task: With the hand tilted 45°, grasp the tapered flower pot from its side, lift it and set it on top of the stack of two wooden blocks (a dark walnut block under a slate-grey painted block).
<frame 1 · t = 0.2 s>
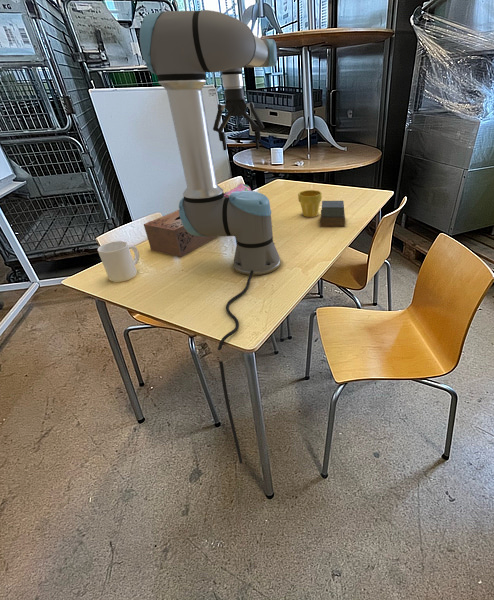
hand: (241, 149, 138), 28 cm above the table, tool pointing down, fingers open, 13 cm apart
base block: (332, 222, 143), on the table, touching top block
tissue box cover: (190, 241, 130), on the table
flower pot: (310, 215, 152), on the table
top block: (332, 213, 140), point 4 cm above the table, touching base block
pencil case: (236, 207, 164), on the table
mug: (128, 274, 108), on the table
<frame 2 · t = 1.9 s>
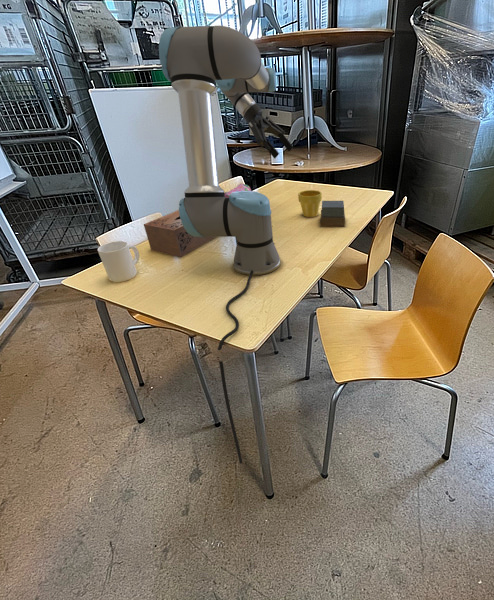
hand: (284, 152, 140), 26 cm above the table, tool tilted 45°, fingers open, 13 cm apart
nothing on the table moved.
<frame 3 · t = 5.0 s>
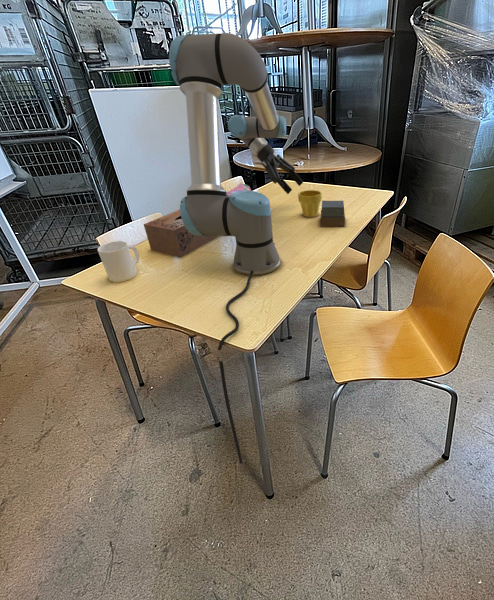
hand: (296, 187, 147), 11 cm above the table, tool tilted 45°, fingers open, 13 cm apart
nothing on the table moved.
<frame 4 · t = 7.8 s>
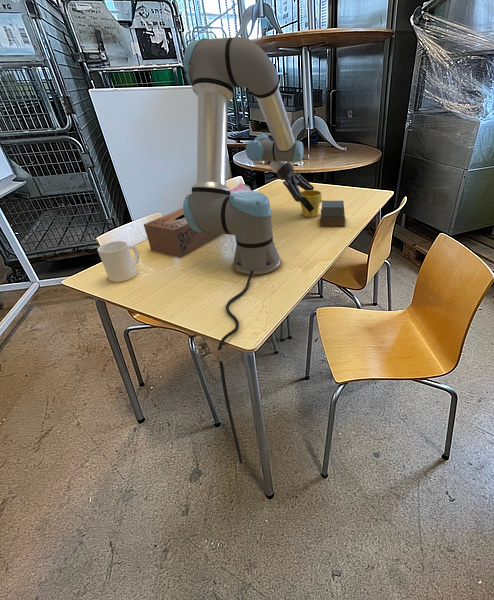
hand: (316, 206, 148), 4 cm above the table, tool tilted 45°, fingers closed on flower pot, 10 cm apart
flower pot: (310, 215, 152), on the table, touching gripper
everything else where it was.
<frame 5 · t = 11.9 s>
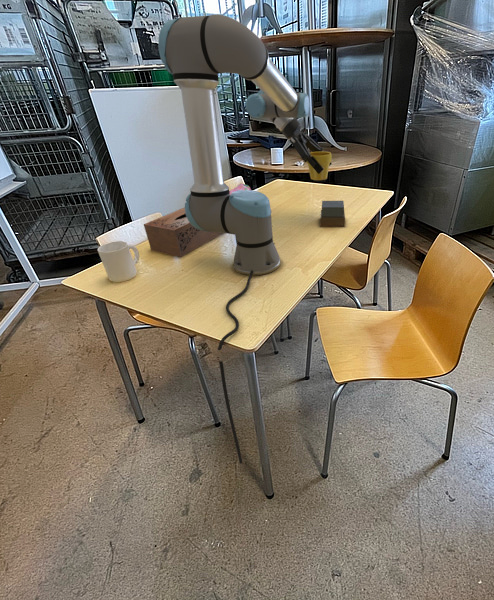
hand: (325, 168, 136), 21 cm above the table, tool tilted 45°, fingers closed on flower pot, 10 cm apart
flower pot: (318, 179, 139), point 17 cm above the table, touching gripper
everything else where it was.
when the fingers open (12 cm above the table, at t = 16.0 s): flower pot stays where it is, resting on top block.
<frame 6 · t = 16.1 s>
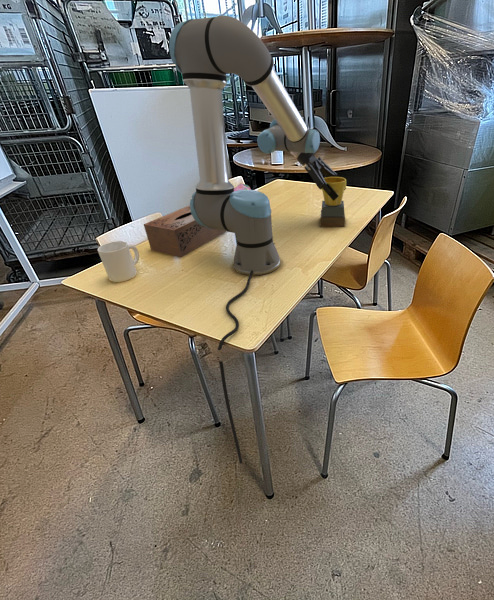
hand: (340, 194, 135), 12 cm above the table, tool tilted 45°, fingers open, 10 cm apart
flower pot: (332, 204, 138), point 8 cm above the table, touching top block
top block: (332, 213, 140), point 4 cm above the table, touching base block, flower pot
everything else where it was.
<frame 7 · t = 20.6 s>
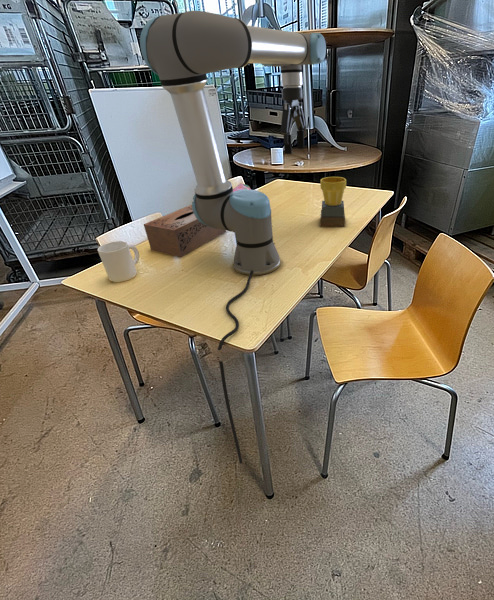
hand: (294, 151, 132), 28 cm above the table, tool pointing down, fingers open, 13 cm apart
nothing on the table moved.
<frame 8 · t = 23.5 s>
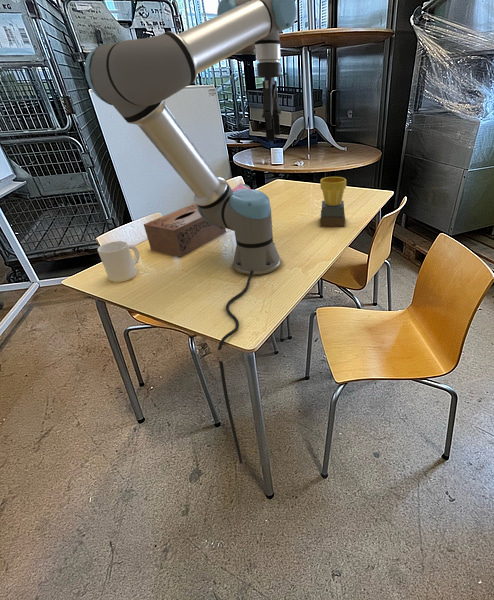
hand: (273, 137, 115), 35 cm above the table, tool pointing down, fingers open, 13 cm apart
nothing on the table moved.
at the end: flower pot 0.0 cm off-centre on the top block, point 3.8 cm above the top block's base; flower pot tilted 0°; top block 0.0 cm off-centre on the base block, point 4.0 cm above the base block's base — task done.
